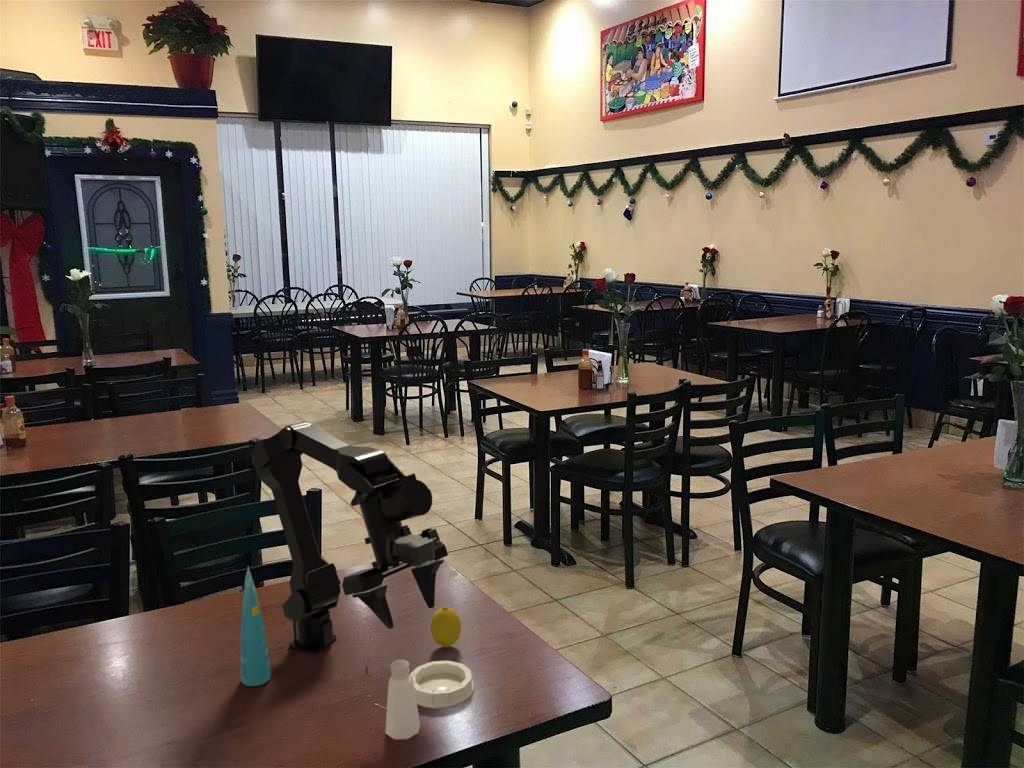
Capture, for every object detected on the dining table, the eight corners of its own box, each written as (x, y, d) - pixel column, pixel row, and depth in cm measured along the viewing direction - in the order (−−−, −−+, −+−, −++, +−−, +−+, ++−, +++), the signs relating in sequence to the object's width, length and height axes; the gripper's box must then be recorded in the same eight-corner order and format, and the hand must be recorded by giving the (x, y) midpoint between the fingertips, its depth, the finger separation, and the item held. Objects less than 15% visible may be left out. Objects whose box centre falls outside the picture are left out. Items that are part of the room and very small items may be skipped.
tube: (274, 686, 137) (266, 579, 133) (244, 693, 135) (235, 584, 131) (267, 665, 143) (259, 563, 140) (238, 672, 141) (230, 568, 138)
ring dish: (394, 700, 132) (394, 686, 131) (428, 667, 142) (428, 654, 141) (454, 714, 127) (454, 700, 127) (485, 680, 137) (484, 667, 137)
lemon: (457, 656, 145) (455, 614, 144) (427, 653, 147) (425, 612, 145) (464, 641, 151) (463, 601, 149) (436, 639, 152) (434, 599, 150)
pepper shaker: (378, 735, 122) (374, 668, 120) (396, 716, 127) (393, 651, 125) (409, 743, 120) (406, 675, 118) (427, 723, 125) (424, 657, 123)
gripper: (370, 534, 121) (400, 635, 120) (455, 502, 135) (483, 592, 134) (327, 545, 128) (356, 641, 127) (413, 514, 142) (439, 600, 141)
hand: (411, 617), depth 132 cm, fingers open, 9 cm apart
